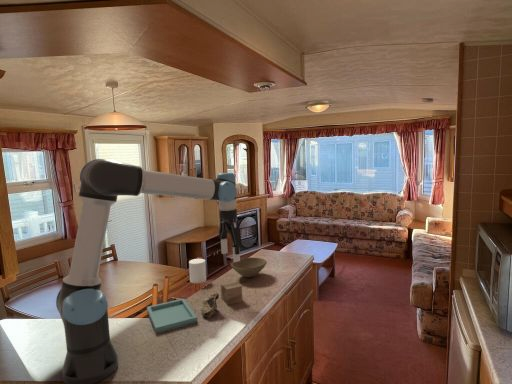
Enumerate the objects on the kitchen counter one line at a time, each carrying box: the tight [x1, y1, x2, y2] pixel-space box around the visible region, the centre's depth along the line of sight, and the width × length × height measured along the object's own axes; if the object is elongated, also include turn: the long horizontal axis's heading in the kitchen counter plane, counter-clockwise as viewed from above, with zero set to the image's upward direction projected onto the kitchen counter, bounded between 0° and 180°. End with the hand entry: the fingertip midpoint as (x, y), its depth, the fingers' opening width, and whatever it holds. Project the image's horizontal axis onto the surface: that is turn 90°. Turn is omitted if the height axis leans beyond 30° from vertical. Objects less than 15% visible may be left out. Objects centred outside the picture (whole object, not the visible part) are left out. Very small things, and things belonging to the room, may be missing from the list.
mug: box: [188, 258, 207, 284], centre depth 172 cm, size 8×10×12 cm
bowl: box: [230, 257, 268, 278], centre depth 173 cm, size 18×18×8 cm
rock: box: [201, 292, 220, 319], centre depth 135 cm, size 9×7×10 cm
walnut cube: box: [220, 280, 243, 306], centre depth 146 cm, size 7×7×7 cm
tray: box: [146, 298, 198, 334], centre depth 133 cm, size 19×15×2 cm
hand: (230, 257), depth 145 cm, fingers open, 13 cm apart
